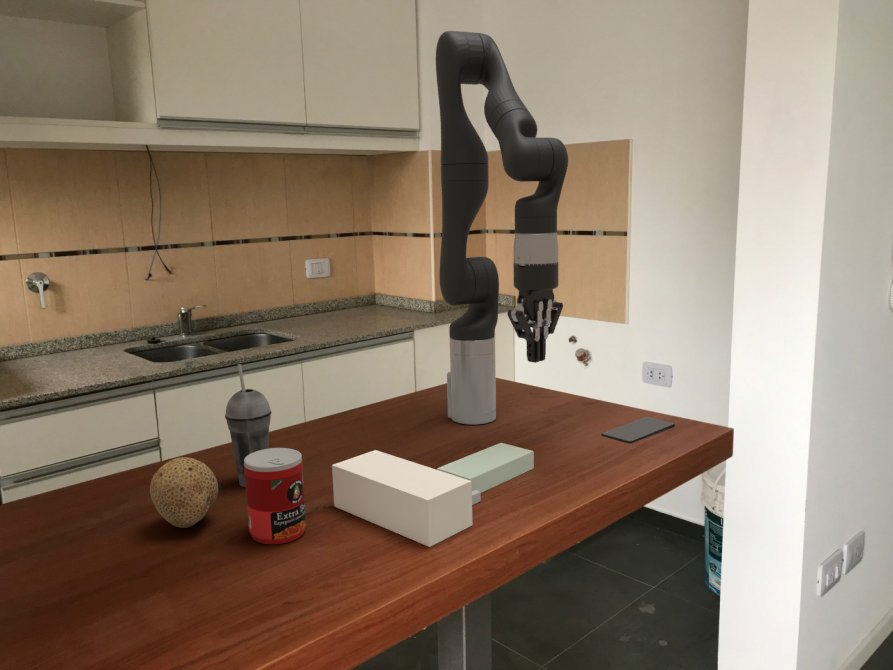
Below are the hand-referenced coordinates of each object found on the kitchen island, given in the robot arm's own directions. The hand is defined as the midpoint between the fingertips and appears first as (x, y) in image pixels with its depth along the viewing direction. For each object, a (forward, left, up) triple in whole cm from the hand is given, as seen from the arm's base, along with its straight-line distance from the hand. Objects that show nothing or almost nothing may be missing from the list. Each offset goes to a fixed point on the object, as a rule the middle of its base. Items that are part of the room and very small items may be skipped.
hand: (536, 360), depth 125 cm
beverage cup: (-28, -40, -17) cm, 51 cm away
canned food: (-9, -48, -17) cm, 51 cm away
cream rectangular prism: (0, -28, -17) cm, 33 cm away
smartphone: (+7, +24, -18) cm, 30 cm away
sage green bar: (0, -14, -17) cm, 22 cm away
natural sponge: (-21, -54, -17) cm, 61 cm away
